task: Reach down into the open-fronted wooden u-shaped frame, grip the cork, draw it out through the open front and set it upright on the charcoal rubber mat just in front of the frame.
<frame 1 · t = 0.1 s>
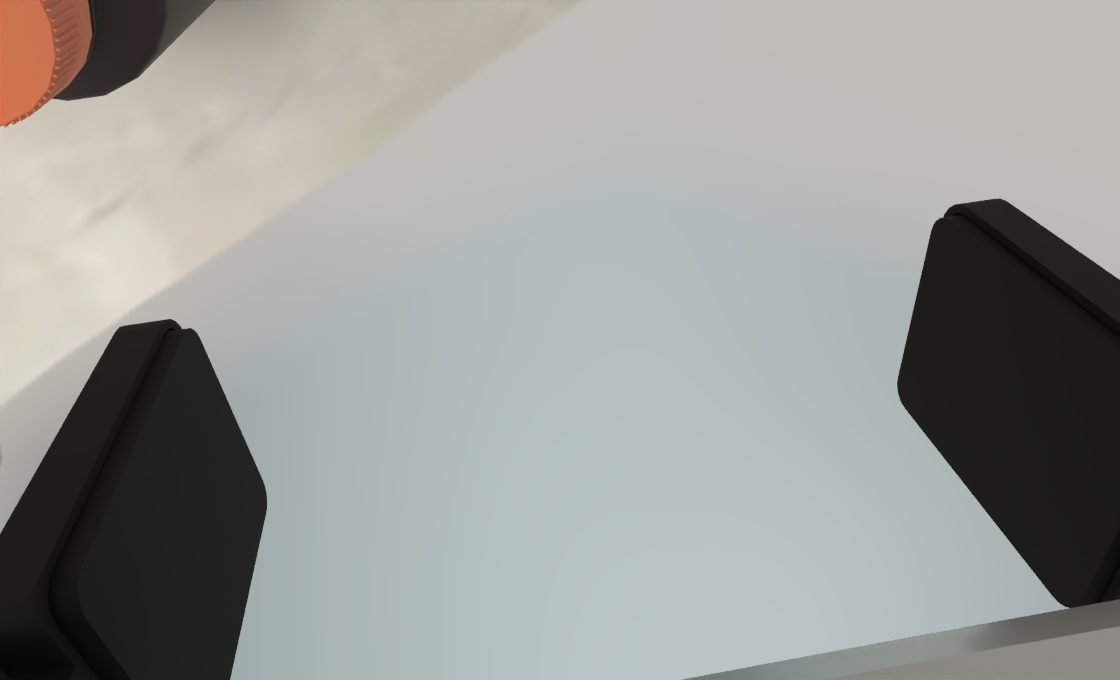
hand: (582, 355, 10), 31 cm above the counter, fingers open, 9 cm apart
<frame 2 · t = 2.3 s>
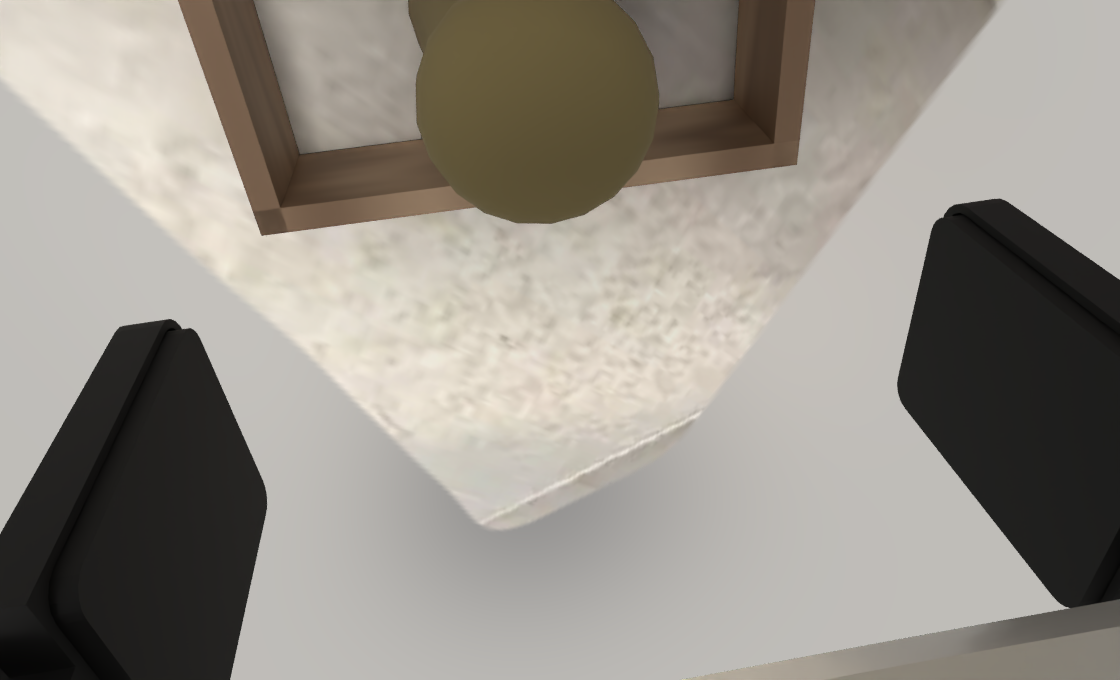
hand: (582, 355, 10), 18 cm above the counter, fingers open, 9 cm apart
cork: (505, 1, 24), on the counter
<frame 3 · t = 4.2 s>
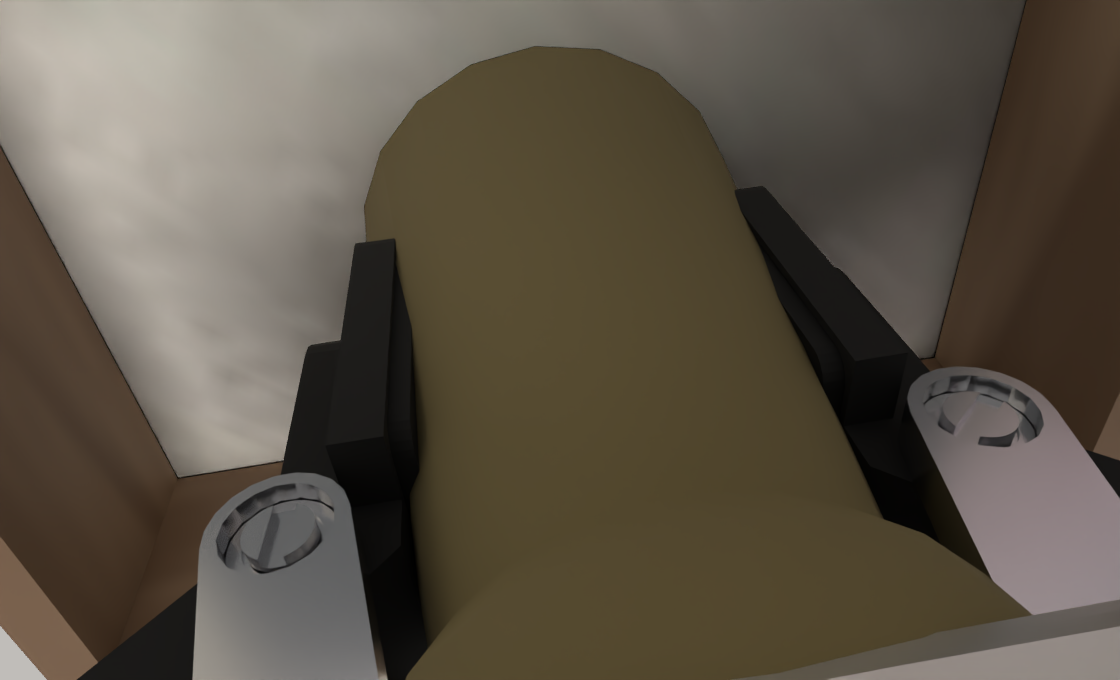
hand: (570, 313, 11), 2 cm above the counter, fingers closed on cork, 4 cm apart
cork: (550, 229, 13), on the counter, touching gripper
wooden u-shaped frame: (548, 207, 12), on the counter
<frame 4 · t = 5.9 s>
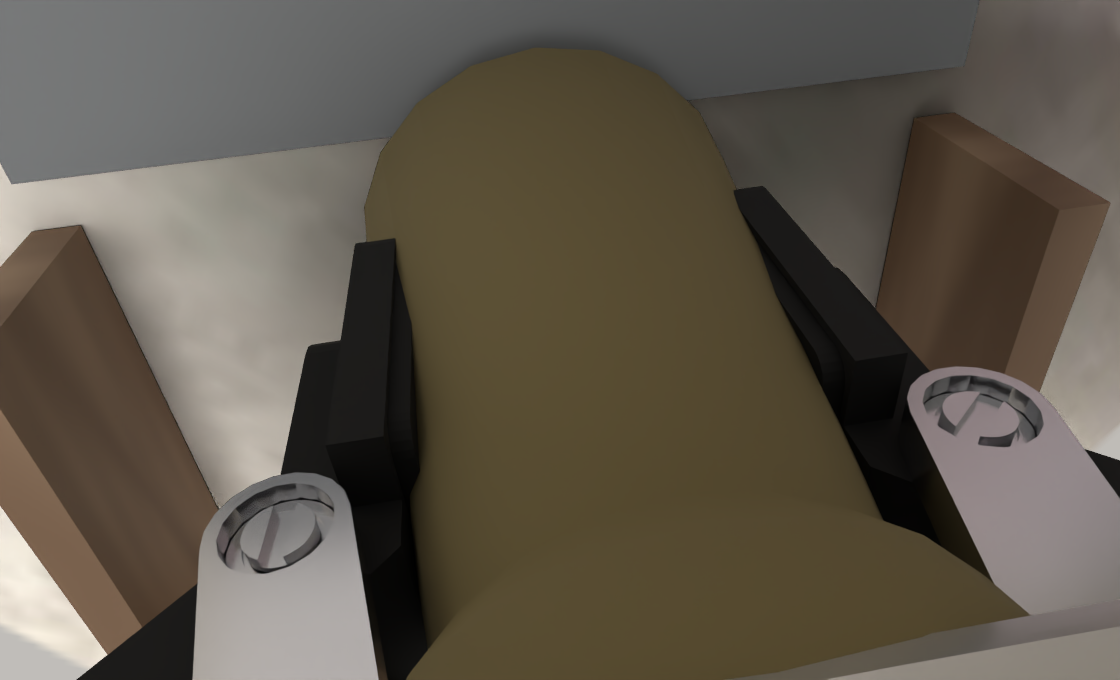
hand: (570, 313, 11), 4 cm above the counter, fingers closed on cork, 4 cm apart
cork: (550, 230, 13), point 1 cm above the counter, touching gripper
wooden u-shaped frame: (538, 368, 16), on the counter
when the fingers open (4 cm above the counter, at t = 7.6 s): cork stays where it is, resting on charcoal mat.
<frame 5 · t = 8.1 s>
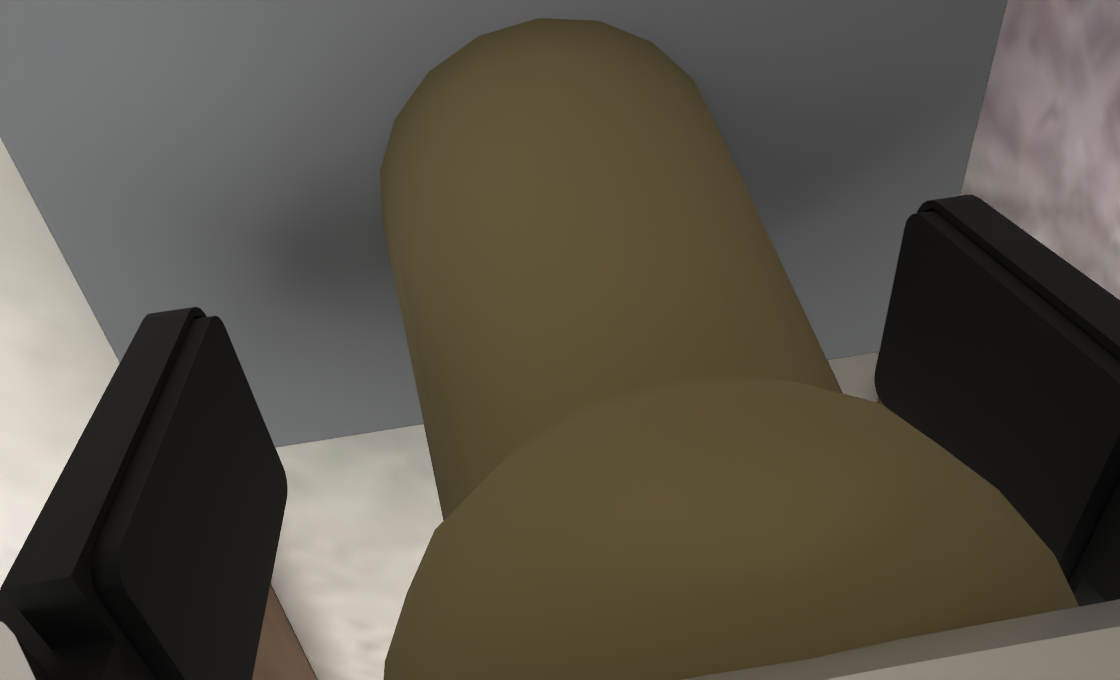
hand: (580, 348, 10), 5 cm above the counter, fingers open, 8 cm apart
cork: (554, 194, 14), resting on charcoal mat
charcoal mat: (537, 198, 14), on the counter
wooden u-shaped frame: (576, 554, 20), on the counter
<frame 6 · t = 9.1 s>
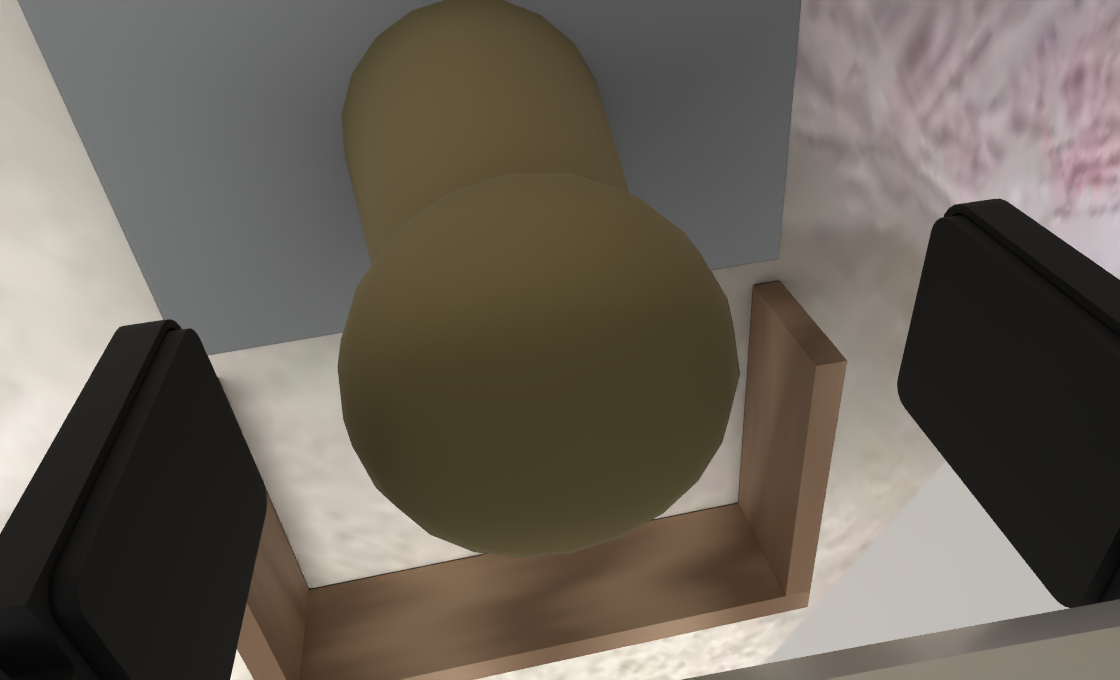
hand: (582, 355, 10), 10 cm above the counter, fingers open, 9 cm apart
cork: (475, 134, 18), resting on charcoal mat
charcoal mat: (464, 138, 18), on the counter
wooden u-shaped frame: (514, 449, 24), on the counter
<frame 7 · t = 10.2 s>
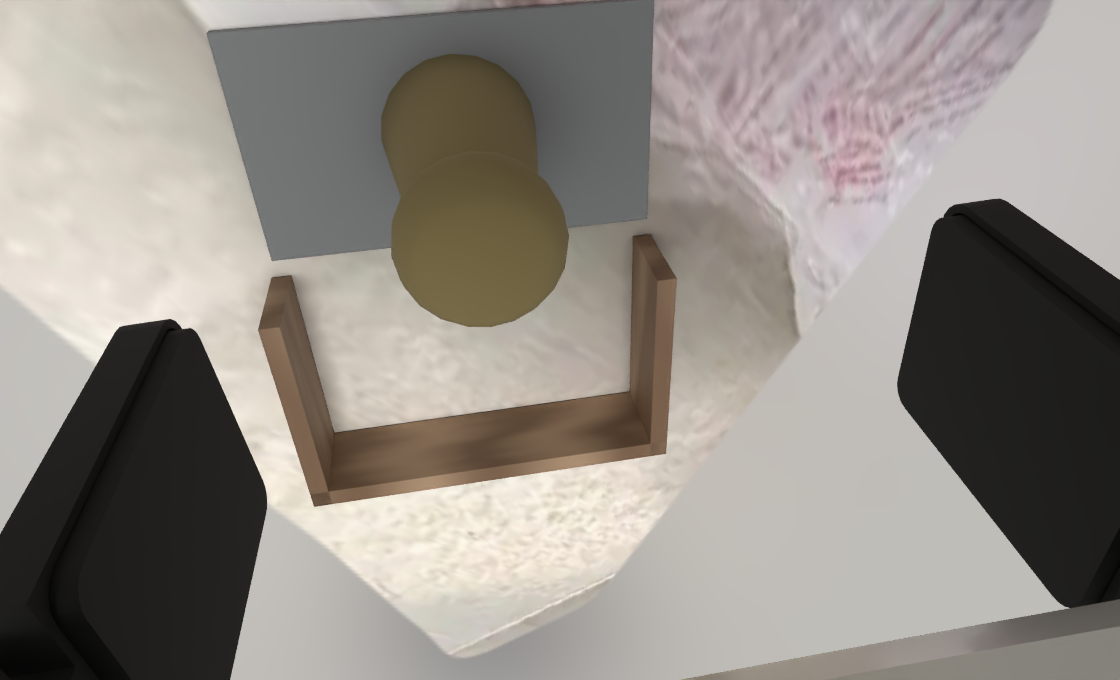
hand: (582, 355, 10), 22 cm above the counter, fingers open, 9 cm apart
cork: (459, 131, 30), resting on charcoal mat
charcoal mat: (452, 133, 31), on the counter
wooden u-shaped frame: (476, 339, 36), on the counter
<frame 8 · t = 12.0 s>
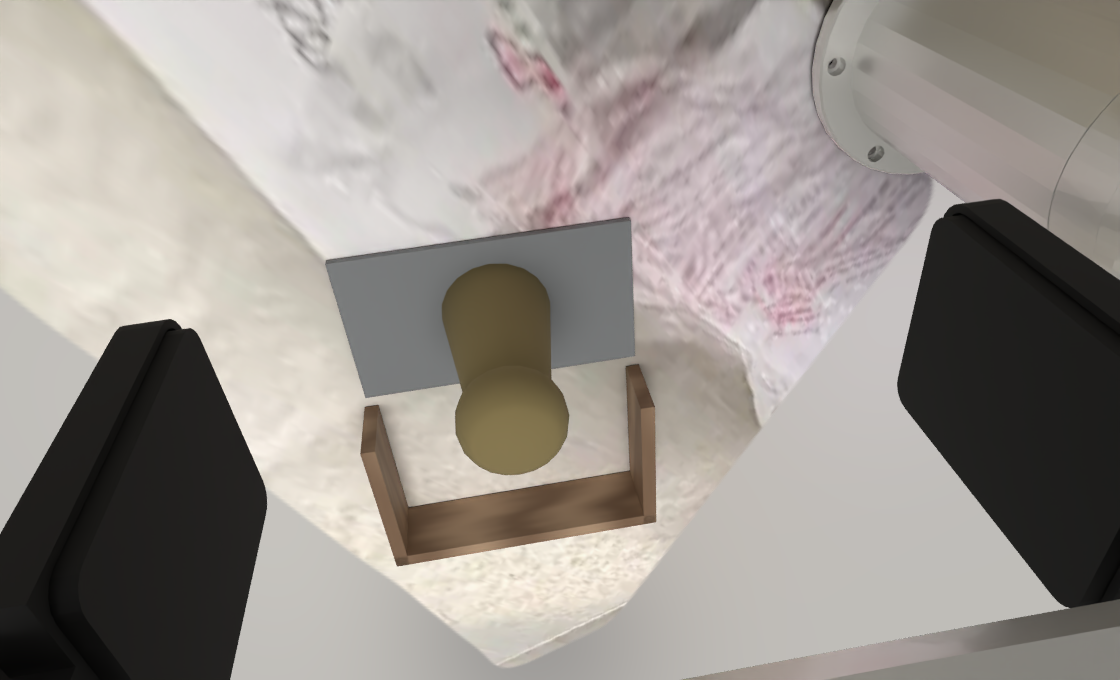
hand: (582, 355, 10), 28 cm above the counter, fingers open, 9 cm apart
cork: (496, 308, 43), resting on charcoal mat
charcoal mat: (491, 309, 43), on the counter
wooden u-shaped frame: (512, 440, 49), on the counter
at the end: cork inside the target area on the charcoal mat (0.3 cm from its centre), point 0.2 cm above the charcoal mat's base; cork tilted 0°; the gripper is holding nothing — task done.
